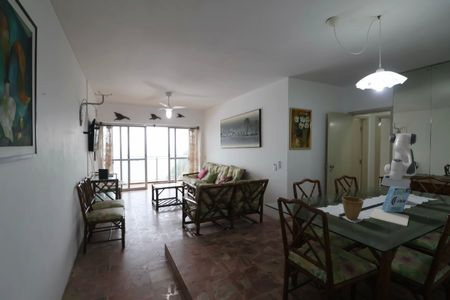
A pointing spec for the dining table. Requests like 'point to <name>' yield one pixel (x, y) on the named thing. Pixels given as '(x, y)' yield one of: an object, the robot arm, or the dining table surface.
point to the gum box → (396, 199)
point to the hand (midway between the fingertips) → (394, 191)
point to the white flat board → (390, 217)
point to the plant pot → (352, 207)
